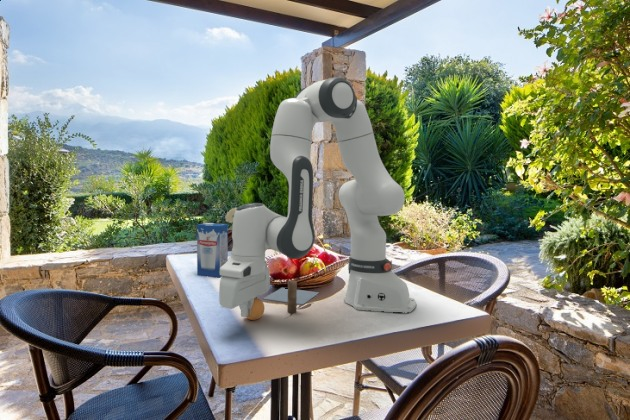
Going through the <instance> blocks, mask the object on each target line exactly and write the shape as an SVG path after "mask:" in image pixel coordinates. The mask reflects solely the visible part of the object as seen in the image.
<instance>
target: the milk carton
mask: <svg viewBox="0 0 630 420" xmlns="http://www.w3.org/2000/svg"><path fill="white" fill-rule="evenodd" d="M228 225H229V224H226V223H225V224H224V223H212V222H203V223H198V224H196V266H197V267H196V271H197V272H196V273H197V276H198V277H199V276H200V277H207V276H208V277H209V278H216V277H217V278H218V279H219V278H220V279H221V278H222V277H223V276H221V275H220V268H221V266H223V265H224V264H225V263H226V262H227V261H228V260H229V258H228V257H229V256H228V249H229V248H228V245H229V244H228V242H229V241H228V239H229V238H228V237H229V236H228V235H229V234H228V233H229V230H228V229H229V227H228Z"/></svg>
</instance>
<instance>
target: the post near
mask: <svg viewBox="0 0 630 420" xmlns="http://www.w3.org/2000/svg"><path fill="white" fill-rule="evenodd" d="M287 288H288V303H287V310H286V311H287V313H288V314H295V313H297V304H296V303H297V290H298V289H297V288H298V282H297V280H294V279H293V280H288V281H287Z"/></svg>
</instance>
